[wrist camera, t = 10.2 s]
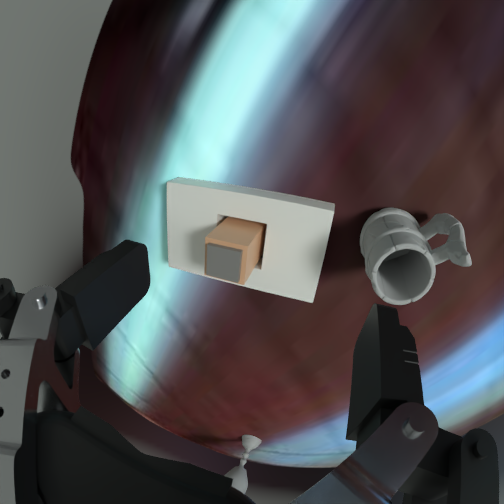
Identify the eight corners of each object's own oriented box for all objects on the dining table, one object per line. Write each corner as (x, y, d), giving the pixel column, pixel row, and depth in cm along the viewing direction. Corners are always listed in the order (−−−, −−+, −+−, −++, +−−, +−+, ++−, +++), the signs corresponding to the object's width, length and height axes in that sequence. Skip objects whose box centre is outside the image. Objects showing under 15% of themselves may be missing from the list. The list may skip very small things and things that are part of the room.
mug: (348, 221, 33) (350, 270, 22) (434, 179, 27) (477, 210, 17) (373, 273, 34) (381, 335, 24) (454, 236, 29) (492, 286, 19)
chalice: (271, 444, 59) (249, 504, 44) (252, 447, 63) (230, 503, 47) (250, 430, 59) (225, 493, 43) (232, 434, 62) (206, 492, 46)
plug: (232, 213, 37) (202, 239, 29) (267, 220, 36) (246, 249, 28) (229, 245, 39) (202, 277, 31) (262, 253, 38) (242, 288, 30)
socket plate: (179, 176, 36) (166, 181, 34) (334, 203, 32) (334, 211, 30) (178, 257, 42) (168, 266, 39) (315, 290, 38) (312, 302, 35)
